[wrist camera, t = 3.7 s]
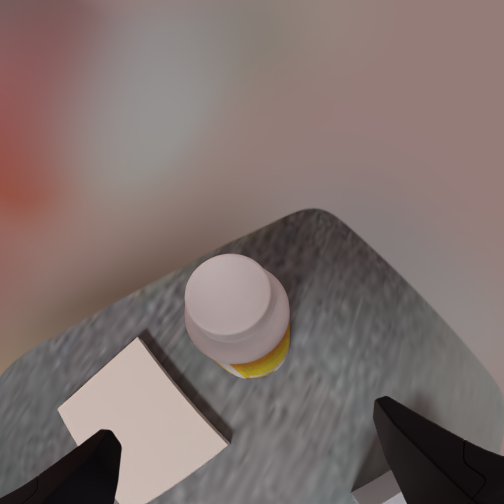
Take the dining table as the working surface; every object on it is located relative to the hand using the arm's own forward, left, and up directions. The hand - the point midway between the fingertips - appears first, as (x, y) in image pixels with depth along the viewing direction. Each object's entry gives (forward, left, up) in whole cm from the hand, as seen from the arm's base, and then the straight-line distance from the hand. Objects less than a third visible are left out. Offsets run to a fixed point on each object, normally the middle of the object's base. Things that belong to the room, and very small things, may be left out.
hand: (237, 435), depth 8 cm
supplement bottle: (+5, -3, -12) cm, 14 cm away
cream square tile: (+6, +9, -12) cm, 16 cm away
